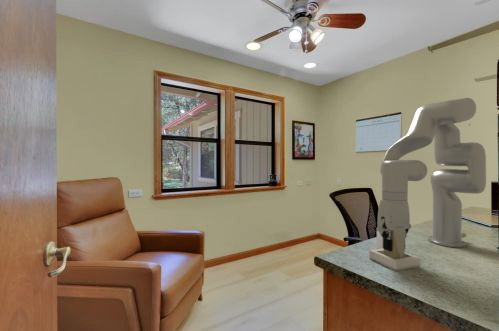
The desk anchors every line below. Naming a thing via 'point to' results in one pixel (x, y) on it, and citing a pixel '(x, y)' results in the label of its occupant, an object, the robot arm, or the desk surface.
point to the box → (397, 243)
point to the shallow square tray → (394, 260)
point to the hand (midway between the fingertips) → (394, 248)
